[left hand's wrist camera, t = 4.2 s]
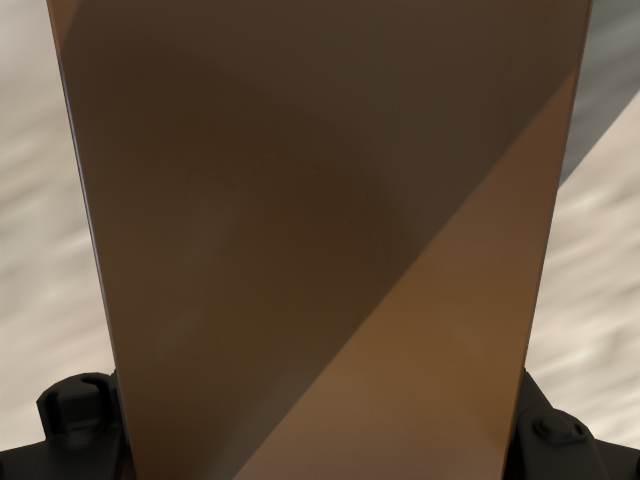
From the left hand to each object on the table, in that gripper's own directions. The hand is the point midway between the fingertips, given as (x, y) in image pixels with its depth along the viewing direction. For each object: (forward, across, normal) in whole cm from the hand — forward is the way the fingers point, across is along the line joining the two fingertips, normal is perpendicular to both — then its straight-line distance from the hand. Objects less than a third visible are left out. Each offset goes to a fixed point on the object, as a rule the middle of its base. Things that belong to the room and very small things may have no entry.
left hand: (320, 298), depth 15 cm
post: (+1, 0, -28) cm, 28 cm away
